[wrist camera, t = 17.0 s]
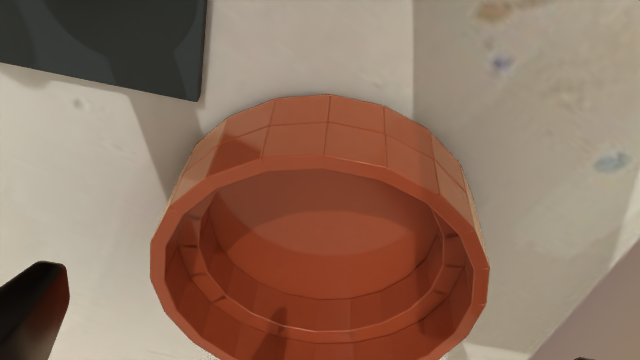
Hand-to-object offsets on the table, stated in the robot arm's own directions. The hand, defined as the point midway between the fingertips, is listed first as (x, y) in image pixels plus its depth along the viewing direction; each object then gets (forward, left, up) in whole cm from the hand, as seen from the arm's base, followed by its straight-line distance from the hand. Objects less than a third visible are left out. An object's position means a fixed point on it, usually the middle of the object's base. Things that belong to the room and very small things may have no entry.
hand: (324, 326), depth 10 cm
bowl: (-1, +9, -13) cm, 16 cm away
